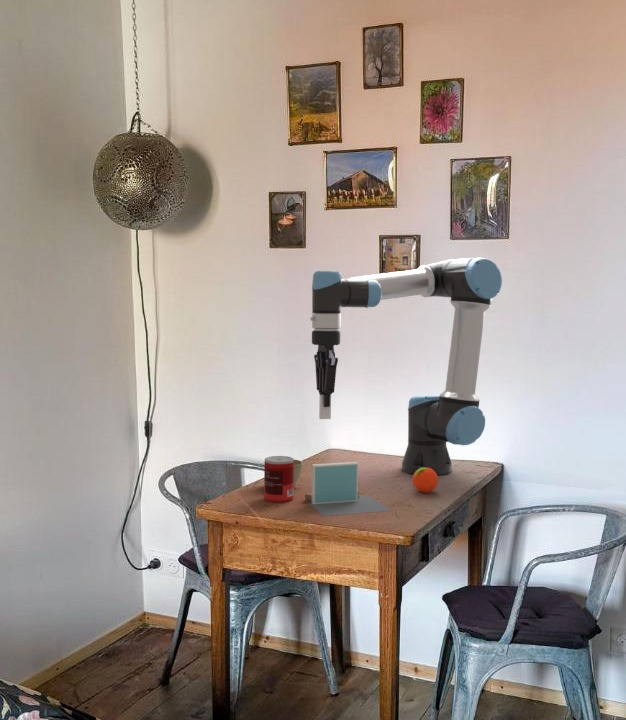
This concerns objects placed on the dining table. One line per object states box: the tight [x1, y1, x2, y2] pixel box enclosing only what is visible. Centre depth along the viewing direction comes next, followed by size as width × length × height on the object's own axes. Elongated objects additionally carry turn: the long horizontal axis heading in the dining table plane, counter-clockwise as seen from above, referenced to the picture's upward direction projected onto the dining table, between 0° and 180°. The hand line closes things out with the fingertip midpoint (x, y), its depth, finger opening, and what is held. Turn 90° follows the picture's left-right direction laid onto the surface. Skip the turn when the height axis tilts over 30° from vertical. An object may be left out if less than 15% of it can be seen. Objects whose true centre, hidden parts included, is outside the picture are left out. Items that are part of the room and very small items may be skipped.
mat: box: [307, 495, 393, 517], centre depth 211 cm, size 18×16×1 cm
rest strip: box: [304, 491, 360, 504], centre depth 216 cm, size 14×2×2 cm, turn 107°
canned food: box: [263, 455, 295, 504], centre depth 217 cm, size 8×8×11 cm
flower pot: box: [293, 458, 303, 487], centre depth 231 cm, size 10×10×7 cm
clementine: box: [412, 467, 439, 494], centre depth 226 cm, size 8×7×7 cm
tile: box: [311, 461, 359, 504], centre depth 214 cm, size 12×2×10 cm, turn 107°
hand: (324, 418), depth 220 cm, fingers closed
